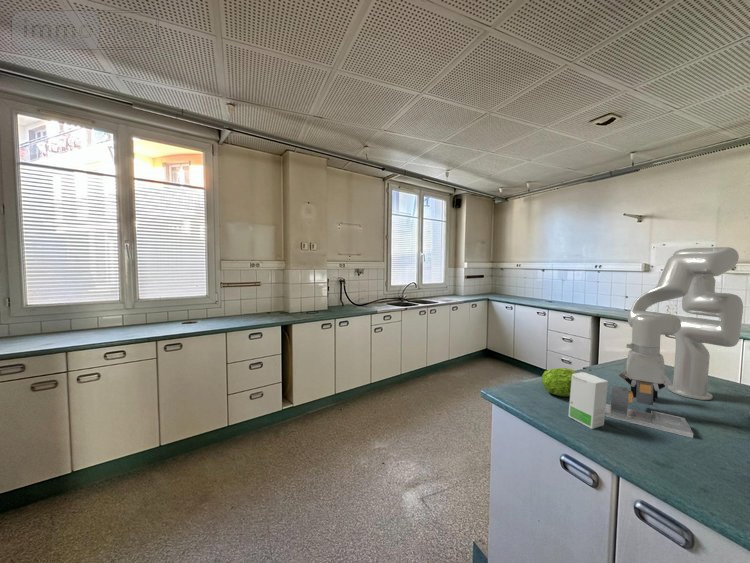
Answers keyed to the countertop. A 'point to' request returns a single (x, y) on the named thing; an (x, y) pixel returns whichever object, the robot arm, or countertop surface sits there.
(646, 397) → the grey block
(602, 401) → the skincare box
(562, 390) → the lettuce
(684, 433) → the rail
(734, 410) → the countertop surface
